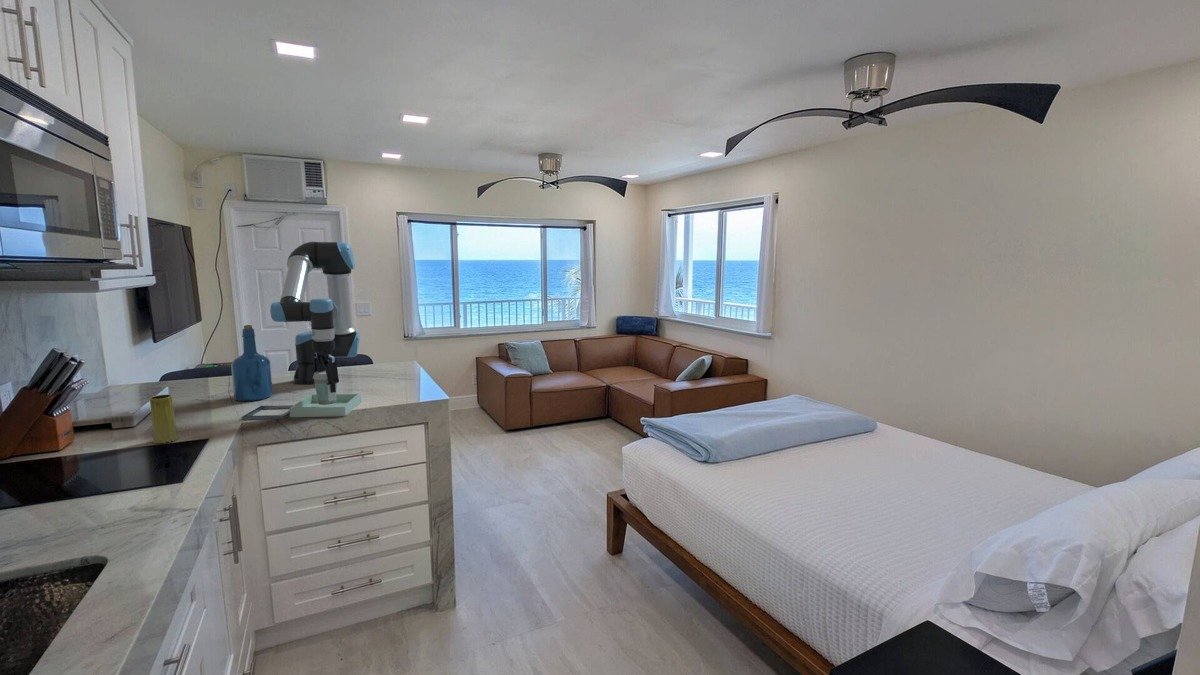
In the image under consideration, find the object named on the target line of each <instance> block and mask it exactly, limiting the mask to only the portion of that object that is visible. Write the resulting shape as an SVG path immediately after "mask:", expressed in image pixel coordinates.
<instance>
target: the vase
mask: <svg viewBox="0 0 1200 675" xmlns="http://www.w3.org/2000/svg"><path fill="white" fill-rule="evenodd" d="M149 402H150V415H151V427H152V429H151V430H152V436H153V439H152V443H153V444H155V443H163V444H167V443H166V442H169V443H172V442H171V441H173V442H175V441H177V440H179V437H178V432H177V431H178V430H177V425H176V419H175V411H174V404H173V395H172V394H159V395H153V396H150V398H149ZM174 440H175V441H174Z"/></svg>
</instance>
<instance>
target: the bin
mask: <svg viewBox="0 0 1200 675" xmlns="http://www.w3.org/2000/svg"><path fill="white" fill-rule="evenodd" d="M336 399H337V400H336V402H335V403H333V404H329V405H320V404H319V403H318V398H317V393H313V394H312V393H311V394H309V395H307V396H306V397H304V398H303V399H301V400H300V401H298V402H296V403H295V404H292V405H293V406H292V407H290V409H289V410H290V415H289V417H290V418H317V417H318V418H320V417H321V418H323V417H325V418H326V417H347V415H349V414H350V413H351V412H352V411H353V410H354V409H355V408H356V407H357V406H359V405H360V404H361V403H362V393H359V392H358V393H336ZM360 402H361V403H360ZM359 403H360V404H359Z"/></svg>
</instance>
